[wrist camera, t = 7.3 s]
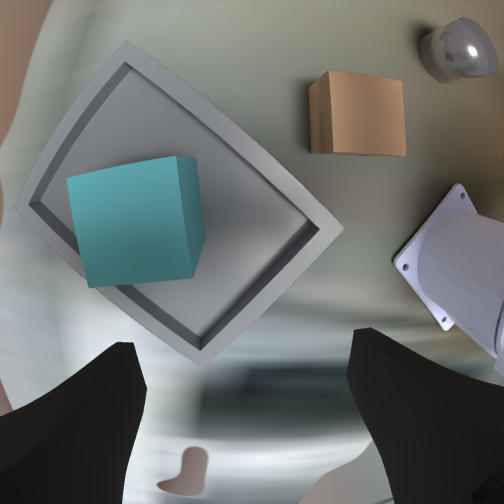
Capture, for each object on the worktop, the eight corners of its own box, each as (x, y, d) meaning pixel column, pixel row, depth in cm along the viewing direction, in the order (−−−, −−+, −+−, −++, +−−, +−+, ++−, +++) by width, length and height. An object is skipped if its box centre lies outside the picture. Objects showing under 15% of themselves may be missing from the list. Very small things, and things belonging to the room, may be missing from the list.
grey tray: (333, 221, 18) (344, 228, 16) (205, 350, 20) (203, 368, 18) (136, 51, 14) (126, 39, 12) (30, 202, 16) (13, 207, 14)
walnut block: (369, 94, 15) (401, 80, 12) (372, 156, 17) (406, 156, 13) (307, 88, 15) (328, 70, 11) (311, 154, 16) (333, 151, 13)
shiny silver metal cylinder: (464, 68, 15) (503, 58, 10) (444, 93, 15) (486, 85, 11) (432, 27, 14) (468, 10, 9) (409, 49, 14) (447, 31, 10)
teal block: (196, 158, 15) (175, 155, 10) (205, 238, 17) (193, 278, 11) (119, 171, 15) (66, 178, 9) (131, 247, 17) (88, 287, 11)
